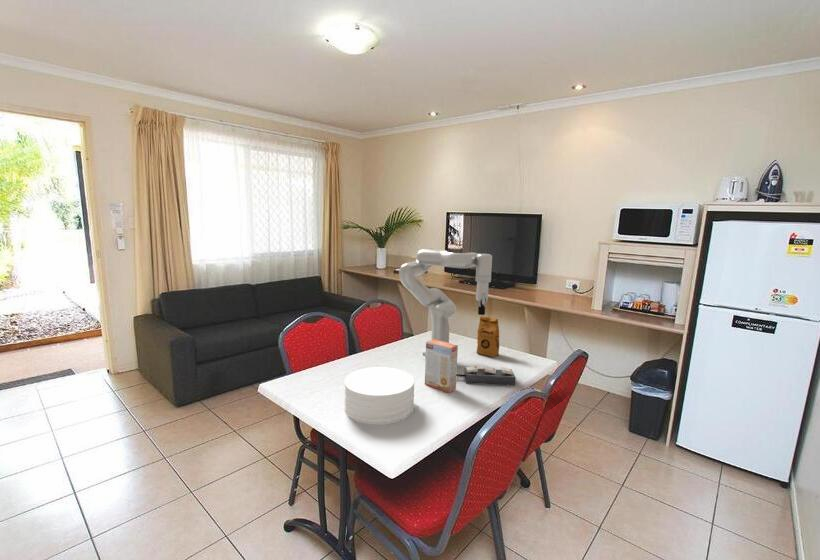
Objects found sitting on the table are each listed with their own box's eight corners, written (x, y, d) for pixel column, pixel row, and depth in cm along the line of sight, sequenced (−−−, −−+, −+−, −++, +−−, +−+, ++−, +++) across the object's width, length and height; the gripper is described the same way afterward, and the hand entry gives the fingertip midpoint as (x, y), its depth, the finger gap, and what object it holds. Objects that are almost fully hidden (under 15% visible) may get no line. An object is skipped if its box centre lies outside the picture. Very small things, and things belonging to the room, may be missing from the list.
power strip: (452, 382, 182) (453, 372, 181) (451, 375, 191) (452, 365, 190) (515, 385, 180) (515, 375, 179) (511, 378, 189) (512, 368, 188)
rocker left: (467, 372, 183) (467, 370, 183) (466, 369, 187) (466, 366, 187) (477, 371, 183) (477, 368, 182) (477, 367, 187) (476, 365, 186)
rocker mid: (485, 371, 182) (485, 369, 182) (484, 368, 186) (484, 365, 186) (495, 373, 182) (496, 371, 182) (494, 370, 186) (494, 368, 186)
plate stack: (391, 387, 176) (392, 362, 174) (427, 413, 152) (428, 385, 151) (333, 400, 161) (333, 374, 159) (362, 432, 137) (363, 401, 136)
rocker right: (502, 372, 182) (503, 369, 182) (500, 369, 186) (501, 366, 186) (512, 374, 182) (513, 372, 182) (511, 371, 186) (511, 369, 186)
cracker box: (456, 389, 174) (458, 344, 171) (448, 393, 170) (450, 348, 167) (432, 380, 183) (433, 338, 180) (424, 384, 179) (425, 340, 176)
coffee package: (493, 359, 215) (496, 320, 211) (474, 354, 222) (475, 317, 219) (501, 354, 222) (503, 317, 219) (482, 349, 230) (484, 314, 227)
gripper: (474, 276, 200) (472, 310, 202) (477, 280, 185) (475, 317, 188) (488, 276, 199) (486, 311, 202) (493, 281, 184) (490, 318, 187)
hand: (481, 314), depth 195 cm, fingers closed
